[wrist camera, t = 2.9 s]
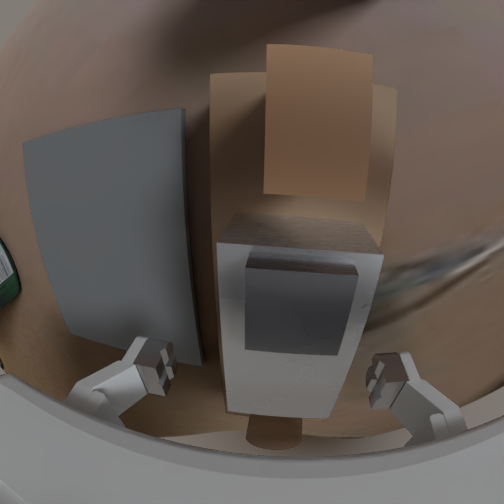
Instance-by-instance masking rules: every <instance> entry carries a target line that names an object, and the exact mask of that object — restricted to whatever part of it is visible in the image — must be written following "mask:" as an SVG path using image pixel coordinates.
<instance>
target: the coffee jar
mask: <svg viewBox="0 0 504 504" xmlns="http://www.w3.org/2000/svg"><path fill="white" fill-rule="evenodd" d="M19 289H20V286H19V281H18V277H17V272H16V268H15V265H14V263H13V260H12V258H11V256H10V253H9V252H8V251H7V249H6V248H5V246H4V245H3V243H2V241H1V240H0V310H1V309H2V308H3V307H4V306H5V305H6V304H7V303H9V302H10V301H11V300H12V299H13V298H14V297H16V296H17V294H18V293H19Z"/></svg>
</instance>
